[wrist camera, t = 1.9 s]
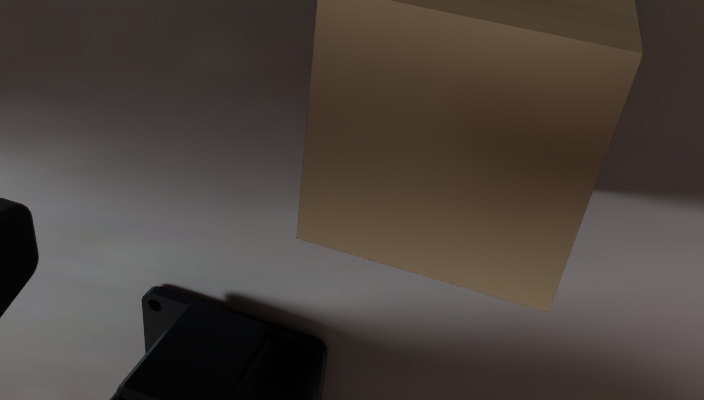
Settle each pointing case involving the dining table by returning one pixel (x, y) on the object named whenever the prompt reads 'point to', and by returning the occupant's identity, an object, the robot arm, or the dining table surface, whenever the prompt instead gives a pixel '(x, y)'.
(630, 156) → the dining table surface
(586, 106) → the walnut cube
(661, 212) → the dining table surface
